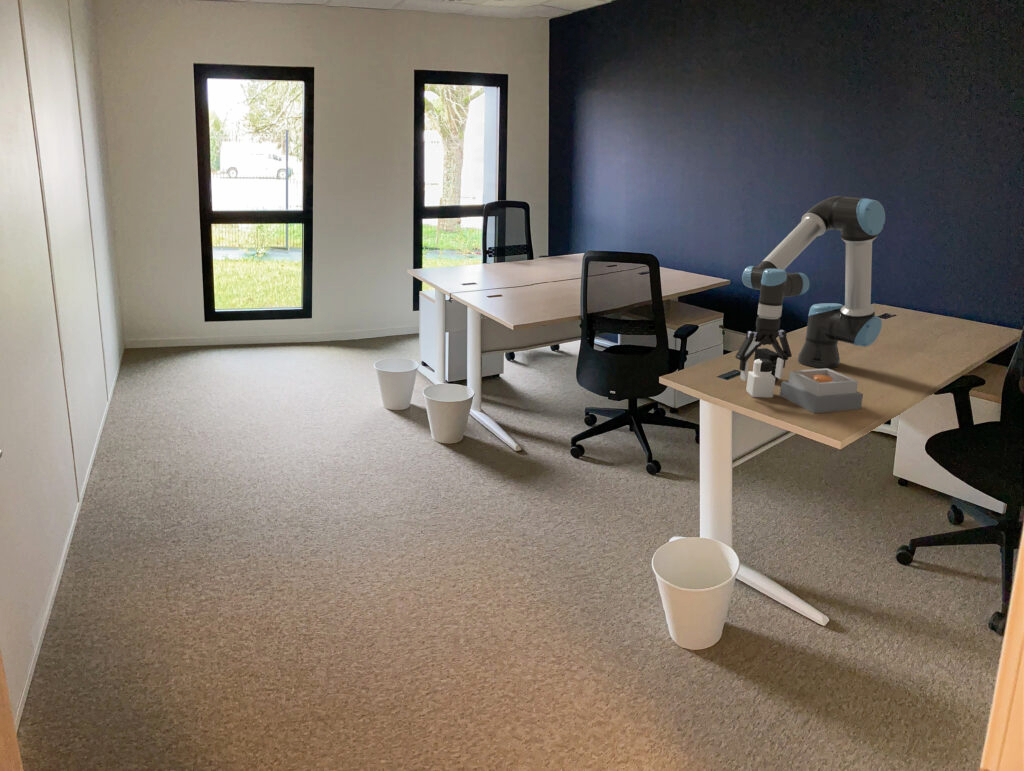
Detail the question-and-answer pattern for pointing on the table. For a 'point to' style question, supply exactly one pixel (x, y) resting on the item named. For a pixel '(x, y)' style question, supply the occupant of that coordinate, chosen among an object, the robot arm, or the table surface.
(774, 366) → the electronic device
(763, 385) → the medicine bottle
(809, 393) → the grey open box
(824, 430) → the table surface
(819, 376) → the button
